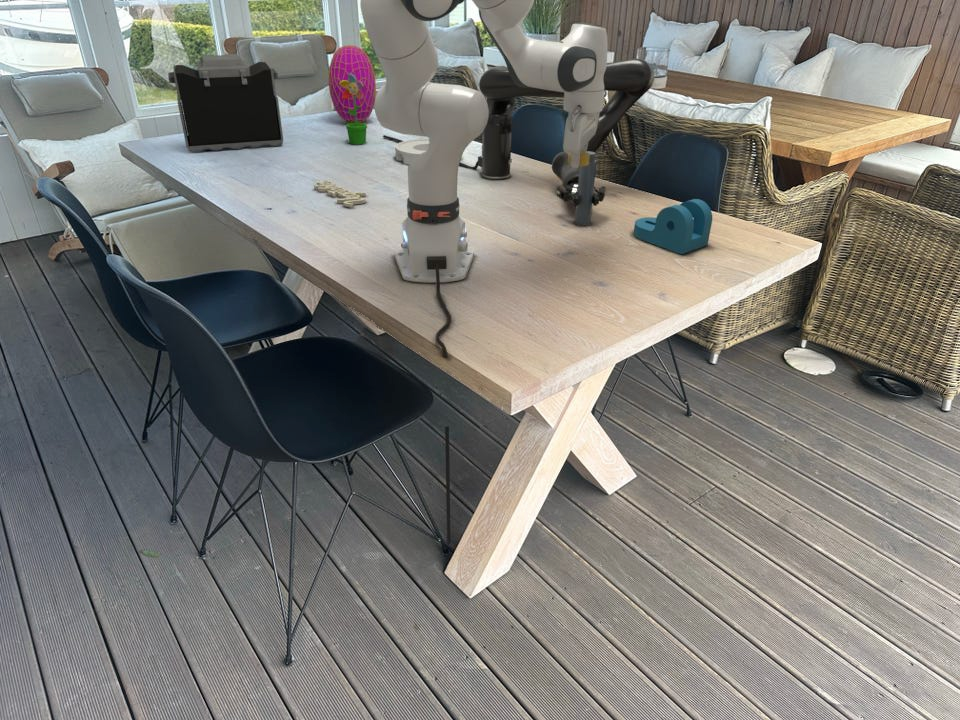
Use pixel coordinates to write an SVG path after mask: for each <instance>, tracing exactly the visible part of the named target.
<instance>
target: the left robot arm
mask: <svg viewBox="0 0 960 720" xmlns="http://www.w3.org/2000/svg"><path fill="white" fill-rule="evenodd" d="M359 1H360V3H359V4H360V11H361V16H362V20H363V23H364V24H363V25H364V27H365V30H366V33H367V36H368V39H369V41H370V44H371V46H372V48H373V50H374V53H375V55H376V57H377V60H378V62H379V64H380V66H381V69H382V71H383V74H384V76H385V83H384V84H383V85H381V87H380V88H379V89H378V91H377V92H376V95H375V103H374V107H373V108H374V113H375V116H376V119H377V121H378V123H379V124H380V126H381V127H382V128H384V129H386V130H389V131H393V132H395V133H397V134H401V135H407V136H417V137H426V138H428V139H429V148H428V151H426V152H423V153H421V154H420V155H418V156H416V157H415V158H414V159H413V160H412V161H411V162H410V164H409V165H408V168H407V184H408V186H407V187H408V198H407V199H406V211H407V213H406V214H407V217H406V218H405V219H404V220H403V221H402V223H401V231H402V242H401V244H400V247H401V249H400V250H397V251H395V252H394V259H395V262H396V264H397V267H398V269H399V272H400V274H401V277H402V279H403V280H405V281H408V282H414V283H431V284H433V283H435V284H436V286H435V287H436V289H435V290H436V296H437V300H438V301H439V303H440V305H441V307H442V310H443V311H444V313H445V315H446V318H447V320H446V322H445V324H444V325H443V326H442V327H441V328H439V330H438V331H437V332H436V334H435V341H436V343H437V344H438V345H439V346H440V347H441V351H442V355H443V358H444V359H448V357H449V356H448V350H447V347H446V345H445V343H444V342H443V341H442V340H441V339H440V337H441V335H442V333H444V331H446V329H447V328H449V327H450V325H451V323H452V315H451V313H450V312H449V309H448V308H447V305H446V303H445V302H444V300H443V298H442V294H441V283H451V282H457V281H461V280H464V279H466V277H467V274H468V273H469V269H470V267H471V265H472V262H473V260H474V257H475V251H473V250H471V249H468V245H469V243H468V242H467V241H466V238H467V236H468V232H467V228H466V221H465V220H464V219H463V218H461V216H460V208H461V207H460V206H461V205H460V198H459V197H458V175H459V166H460V165H459V162H461V160H462V159H461V158H462V156H463V155H464V152H465V150H466V149H467V147H468V146H469V145H470V144H471V143H473V141H475V140H476V139H477V138H478V137H479V136H481V135H482V134H483V131H484V129H485V127H486V125H487V122H488V117H489V109H488V104H487V102H486V100H487V98H486V97H485V96H484V95H483V94H482V93H481V91H480V90H478V89H477V90H476V89H474V88H470V87H467V86H464V85H461V84H451V83H449V84H448V83H437V82H431V80H433V78H434V76H435V75H436V74H437V71H438V67H439V55H438V51H437V49H436V46H435V43H434V41H433V38H432V35H431V32H430V30H429V26H428V24H427V22H433V21H434V22H435V21H437V20H440V19H443V18H444V17H446V16H448V15H449V14H450V13H452V12H453V11H454V10H455V9H456V8H457V7H458V6H459V5H460V4H463V3H464V2H465V0H359ZM471 1H472V2H473V3H474V5H475V6H476V7H477V9H478V17H479V19H480V22H481V24H482V26H483V27H484V29H485V31H486V33H487V34H488V36H489V37H490V39H491V40H492V42H493V43H494V45H495V47H496V48H497V50H498V51H499V53H500V55H501V56H502V58H503V60H504V63H505V65H506V67H507V68H508V71H509V74H510V76H511V78H512V80H513V82H514V83H515V84H516V85H518V86H519V87H524V88H538V89H544V90H550V91H558V92H564V97H563V105H562V109H563V110H564V111H565V112H567V113H568V115H567V118H566V120H565V124H564V134H563V142H562V143H563V144H562V148H563V149H562V150H563V152H567V153H570V154H571V167H574V168H578V167H579V165H580V153H581V152H586V151H587V147H588V142H589V141H590V140H591V138H592V137H593V136H594V135H595V133H596V130H597V125H598V120H599V114H600V112H601V111H602V108H603V107H604V100H605V91H604V81H603V78H604V73H605V70H606V65H607V63H608V47H609V46H608V45H609V44H608V34H607V28H605V27H604V26H603V25H600V24H597V23H590V22H583V21H582V22H575V23H573V24H572V25H571V28H570V32H569V33H568V35H566V36H565V37H564V38H563V39H561V40H560V41H551V40H544V39H543V40H542V39H536V38H532V37H529V36H527V35H526V34H525V33H524V32H523V30H522V28H521V26H520V25H519V24H520V23H522V22H523V21H524V20H525V19H526V17H527V16H528V15H529V13H530V12H531V10H532V8H533V6H534V3H535V0H471ZM444 438H445V439H444V442H445V443H444V445H445V448H444V449H445V496H446V501H445V503H446V504H445V505H446V540H447V541H446V543H447V546H449V545H451V541H452V537H451V536H452V533H451V473H450V471H451V467H450V465H451V464H450V462H451V461H450V426H449V425H447V426H445V427H444Z"/></svg>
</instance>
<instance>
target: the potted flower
mask: <svg viewBox="0 0 960 720" xmlns="http://www.w3.org/2000/svg"><path fill="white" fill-rule="evenodd" d="M348 78H349V81H346V80H342V81H341V82H340V83H339V84H340V85H341V86H342V87H343V88H346V89H347V90H345V91H344V93H343V94H342V97H341V99H348V98H350V97H351V96H352V95H353V100H354V110H349V111H348V112H349V114H351V115H355V123H349V122H348V123H347V124H346V125H345V128H346V131H347V136H348V141H349V144H352V145H363V144H366V143H367V129H368V124H367V123H366V122H365V123H364V122H361V123H357V116H356V110H358V109H359V106H356V103H355V95H356V97H357V98H358V99H359V100H362V98H363V93H362V92H361V91H360V90H361V89H363V84H362V82H361V81H358V82H357V83H356V78H355V76H354V75H352V74H350V73H348Z"/></svg>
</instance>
